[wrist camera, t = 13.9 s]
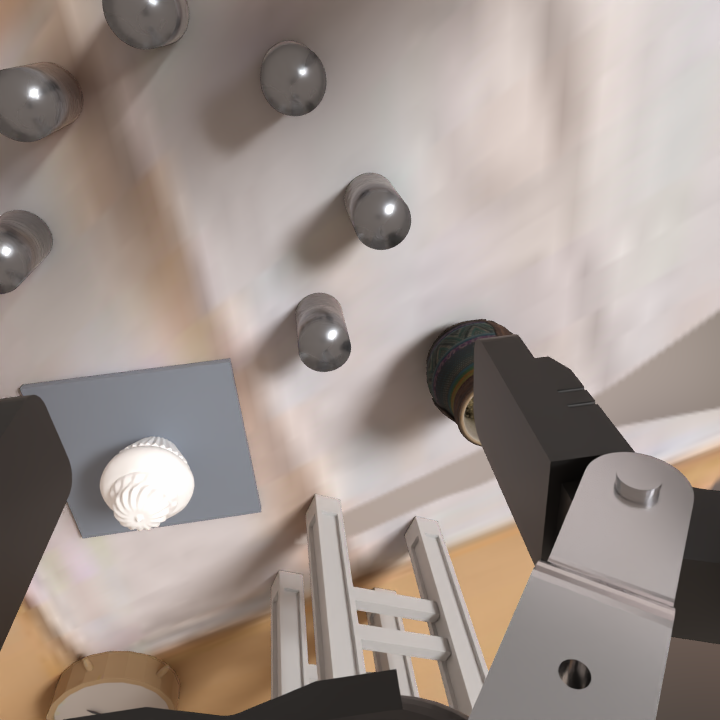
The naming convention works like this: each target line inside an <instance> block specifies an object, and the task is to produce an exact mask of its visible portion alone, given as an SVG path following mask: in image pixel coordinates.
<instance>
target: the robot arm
mask: <svg viewBox="0 0 720 720" xmlns="http://www.w3.org/2000/svg"><path fill="white" fill-rule="evenodd" d="M473 410H474V420H475V426H476V431H477V434H478V438H479V440H480V443H481V445H482V447H483V449H484V452H485V454H486V456H487V459H488V461H489V463H490V465H491V468H492V470H493V472H494V474H495V477H496V479H497V481H498V483H499V486H500V488H501V490H502V493H503V495H504V497H505V499H506V502H507V504H508V506H509V508H510V511H511V513H512V515H513V517H514V520H515V522H516V524H517V527H518V529H519V531H520V533H521V536H522V538H523V540H524V542H525V545H526V547H527V549H528V551H529V554H530V556H531V558H532V561H533V563H534V565H535V567H534V569H533V571H532V573H531V575H530V578H529V580H528V582H527V585H526V587H525V589H524V591H523V594H522V596H521V598H520V601H519V603H518V605H517V608H516V610H515V612H514V615H513V617H512V619H511V621H510V624H509V626H508V628H507V631H506V633H505V635H504V638H503V640H502V642H501V645H500V647H499V649H498V652H497V654H496V656H495V658H494V661H493V663H492V665H491V668H490V670H489V672H488V675H487V677H486V679H485V682H484V684H483V686H482V688H481V691H480V693H479V695H478V698H477V700H476V702H475V705H474V707H473V709H472V712H471V714H470V716H467V715H465V714H463V713H462V712H460V711H458V710H456V709H453V708H451V707H448V706H446V705H443V704H441V703H438V702H435V701H431V700H427V699H423V698H419V697H413V696H405V695H401V694H400V688H399V682H398V676H397V670H396V669H393V670H386V671H379V672H373V673H366V674H360V675H353V676H346V677H340V678H333V679H327V680H320V681H315V682H313V683H310V684H308V685H305V686H303V687H301V688H298V689H296V690H293V691H291V692H289V693H286V694H284V695H281V696H279V697H276V698H274V699H272V700H269V701H267V702H264V703H262V704H260V705H257V706H255V707H252V708H250V709H248V710H245V711H243V712H240V713H238V714H235V715H230V716H219V715H210V714H202V713H194V712H185V711H177V710H169V709H160V708H152V707H142V708H135V709H129V710H122V711H115V712H109V713H102V714H96V715H89V716H82V717H76V718H69V719H63V720H655V718H656V713H657V708H658V703H659V697H660V692H661V687H662V681H663V676H664V671H665V666H666V660H667V655H668V650H669V644H670V639H671V637H676V638H682V639H689V640H696V641H702V642H708V643H716V644H720V491H714V490H706V489H699V488H694V487H692V486H691V484H690V482H689V481H688V480H687V478H686V477H685V476H684V475H683V474H682V473H681V472H680V471H679V470H677V469H676V468H674V467H673V466H672V465H670V464H668V463H666V462H664V461H662V460H660V459H657V458H655V457H652V456H648V455H645V454H640V453H635V452H634V450H633V449H632V448H631V447H630V445H629V444H628V443H627V441H626V440H625V439H624V438H623V436H622V435H621V434H620V432H619V431H618V430H617V428H616V427H615V426H614V425H613V423H612V422H611V421H610V419H609V418H608V417H607V416H606V414H605V413H604V412H603V410H602V409H601V408H600V407H599V405H598V404H597V405H596V404H595V400H594V399H593V398H592V396H591V395H590V394H589V392H588V391H587V390H584V386H583V385H582V383H581V382H580V381H579V380H578V378H577V377H576V376H575V374H574V373H573V372H572V370H571V369H569V368H567V367H565V366H564V365H562V364H560V363H559V362H557V361H555V360H554V359H552V358H550V357H541V358H534V357H533V355H532V354H531V352H530V351H529V350H528V348H527V347H526V345H525V344H524V342H523V341H522V340H521V338H520V337H519V336H518V335H516V334H514V335H506V336H498V337H490V338H483V339H477V340H476V342H475V347H474V398H473ZM71 487H72V469H71V464H70V461H69V458H68V456H67V454H66V451H65V449H64V447H63V444H62V442H61V440H60V437H59V435H58V433H57V431H56V428H55V426H54V424H53V421H52V419H51V417H50V414H49V412H48V410H47V407H46V405H45V403H44V402H43V400H42V399H41V398H40V397H39V396H37V395H26V396H18V397H10V398H2V399H0V651H1V648H2V646H3V644H4V642H5V639H6V637H7V635H8V632H9V630H10V628H11V626H12V623H13V621H14V619H15V617H16V614H17V612H18V610H19V608H20V605H21V603H22V601H23V599H24V596H25V594H26V592H27V590H28V587H29V585H30V583H31V580H32V578H33V576H34V574H35V571H36V569H37V567H38V565H39V562H40V560H41V558H42V556H43V553H44V551H45V549H46V547H47V544H48V542H49V540H50V538H51V535H52V533H53V531H54V528H55V526H56V524H57V522H58V519H59V517H60V515H61V513H62V510H63V508H64V506H65V504H66V501H67V499H68V497H69V494H70V491H71Z"/></svg>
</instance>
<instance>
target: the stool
mask: <svg viewBox="0 0 720 720" xmlns="http://www.w3.org/2000/svg"><path fill="white" fill-rule="evenodd" d="M306 527H307V541H308V554H309V568H310V581H311V595H312V609H313V622H314V636H315V649H316V663H317V665H312V664H308V651H307V635H306V618H305V602H304V585H303V575H302V574H297V573H291V572H286V571H280V570H279V572H278V574H277V576H276V578H275V580H274V583H273V585H272V587H271V700H272V699H274V698H276V697H279V696H281V695H284V694H286V693H289V692H291V691H293V690H296V689H298V688H301V687H303V686H305V685H308V684H310V683H313V682H315V681H320V680H327V679H333V678H340V677H346V676H353V675H360V674H366V673H371V672H366V671H365V664H364V657H363V650H362V649H364V650H371V651H373V656H374V663H375V669H376V672H379V671H386V670H393V669H396V670H397V676H398V682H399V688H400V694H401V695H405V696H413V697H419V693H418V689H417V684H416V680H415V675H414V671H413V666H412V662H411V657H410V656H412V657H418V658H425V659H432V660H437V661H438V665H439V669H440V673H441V676H442V680H443V684H444V688H445V692H446V695H447V699H448V703H449V707H451V708H453V709H456V710H458V711H460V712H462V713H463V714H465V715H467V716H470V714H471V712H472V709H473V707H474V705H475V702H476V700H477V698H478V695H479V693H480V691H481V688H482V686H483V684H484V682H485V679H486V677H487V675H488V669H487V666H486V663H485V660H484V657H483V654H482V651H481V648H480V645H479V642H478V639H477V636H476V633H475V630H474V627H473V624H472V621H471V618H470V615H469V612H468V609H467V606H466V604H465V601H464V598H463V595H462V592H461V589H460V586H459V583H458V580H457V577H456V574H455V571H454V568H453V565H452V562H451V559H450V556H449V553H448V550H447V547H446V544H445V541H444V538H443V535H442V532H441V529H440V526H439V523H438V521H434V520H430V519H425V518H421V517H416V516H415V518H414V520H413V522H412V523H411V525H410V527H409V528H408V530H407V532H406V534H405V539H406V543H407V547H408V551H409V555H410V558H411V562H412V566H413V570H414V574H415V577H416V581H417V585H418V589H419V593H420V596H421V599H420V598H414V597H409V596H403V595H397V594H396V591H391V590H386V589H380V588H374V589H373V590H370V589H364V588H358V587H353V583H352V576H351V569H350V563H349V556H348V549H347V542H346V536H345V529H344V522H343V515H342V509H341V502H340V499H335V498H331V497H326V496H322V495H318V494H315V496H314V498H313V500H312V502H311V504H310V506H309V508H308V510H307V513H306ZM357 610H359V611H365V612H366V614H367V620H368V625H363V624H359V623H358V617H357ZM402 618H407V619H413V620H419V621H425V622H427V623H428V627H429V631H430V634H431V635H425V634H419V633H413V632H407V631H405V630H404V626H403V621H402Z"/></svg>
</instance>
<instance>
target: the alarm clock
mask: <svg viewBox="0 0 720 720" xmlns="http://www.w3.org/2000/svg"><path fill="white" fill-rule="evenodd" d="M179 693H180V681H179V679H178V676H177V674H176V672H175V671H174V670H173V669H172V668H171V667H170V666H169V665H167V664H166V663H165V662H163V661H161V660H159V659H156V658H154V657H152V656H150V655H146V654H141V653H136V652H131V651H109V652H104V653H99V654H94V655H90V656H87V657H85V658H83V659H81V660H78V661H76V662H74V663H73V664H72V665H70V666H69V667H68V668H67V669H66V670H65V671H64V672H63V673H62V675H61V677H60V679H59V681H58V683H57V686H56V689H55V694H54V697H53V700H52V703H51V706H50V709H49V711H48V713H47V716H46V720H63V719H69V718H76V717H82V716H89V715H96V714H102V713H109V712H115V711H122V710H129V709H135V708H142V707H152V708H160V709H169V710H177V706H178V699H179Z"/></svg>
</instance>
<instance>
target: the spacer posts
mask: <svg viewBox="0 0 720 720" xmlns="http://www.w3.org/2000/svg"><path fill="white" fill-rule="evenodd" d="M102 4H103V11H104V15H105V18H106V20H107V23H108V25H109V26H110V28H111V29H112V31H113V32H114V33H115V34H116V36H117V37H119V38H120V39H121V40H122V41H123V42H125V43H126V44H128V45H130V46H132V47H135V48H139V49H153V48H157V47H161V46H165V45H169V44H172V43H174V42H176V41H177V40H179V39H180V38H181V37H182V36H183V34H184V33H185V31H186V29H187V26H188V22H189V8H188V4H187V1H186V0H102ZM260 81H261V88H262V91H263V94H264V96H265V98H266V99H267V101H268V102H269V104H270V105H271V106H272V107H273V108H274V109H276V110H277V111H279V112H281V113H283V114H285V115H289V116H300V115H304V114H307V113H309V112H311V111H312V110H313V109H315V108H316V107H317V106H318V104H319V103H320V102H321V100H322V98H323V96H324V93H325V89H326V74H325V70H324V67H323V65H322V63H321V61H320V59H319V58H318V57H317V56H316V55H315V53H313V52H312V51H311V50H310V49H308V48H307V47H306V46H304V45H303V44H301V43H298V42H295V41H283V42H280V43H277V44H275V45H274V46H273V47H272V48H270V49H269V51H268V52H267V53H266V55H265V57H264V59H263V63H262V68H261V77H260ZM82 106H83V96H82V91H81V89H80V86H79V84H78V83H77V81H76V79H75V78H74V77H73V76H72V75H71V74H70V73H69V72H68V71H67V70H65V69H64V68H62V67H61V66H59V65H56V64H53V63H48V62H40V63H35V64H29V65H24V66H19V67H14V68H8V69H3V70H0V132H1V133H2V134H3V135H5V136H7V137H9V138H11V139H13V140H16V141H21V142H33V141H37V140H40V139H42V138H44V137H45V136H47V135H49V134H51V133H53V132H55V131H57V130H59V129H61V128H63V127H64V126H66V125H68V124H70V123H72V122H73V121H75V120H76V119H77V118H78V116H79V115H80V113H81V110H82ZM344 202H345V207H346V210H347V212H348V215H349V217H350V220H351V222H352V224H353V227H354V229H355V232H356V234H357V236H358V238H359V239H360V241H361V242H362V243H363V244H365V245H366V246H368V247H370V248H373V249H377V250H385V249H389V248H392V247H395V246H396V245H398V244H399V243H400V242H402V241H403V240H404V238H405V237H406V235H407V234H408V232H409V229H410V225H411V214H410V211H409V208H408V206H407V205H406V203H405V202H404V201H403V199H402V198H401V197H400V195H399V194H398V193H397V191H396V190H395V189H394V187H393V186H392V185H391V183H390V182H389V181H388V180H387V179H386V178H385V177H383V176H382V175H379V174H376V173H365V174H362V175H359V176H358V177H356V178H355V179H353V180H352V181H351V183H350V184H349V185H348V187H347V189H346V192H345V197H344ZM52 244H53V239H52V234H51V232H50V229H49V228H48V226H47V225H46V223H45V222H44V221H43V220H42V219H40V218H39V217H38V216H36V215H34V214H32V213H30V212H27V211H22V210H13V211H9V212H6V213H4V214H3V215H1V216H0V294H4V293H8V292H11V291H13V290H14V289H16V288H17V287H18V286H19V285H20V284H21V283H22V282H23V281H24V280H25V279H26V277H27V276H28V275H29V274H30V273H31V272H32V271H33V270H34V269H35V268H36V267H37V266H38V265H39V264H40V263H41V261H42V260H43V259H44V258H45V257H46V256H47V255H48V254H49V253H50V251H51V248H52ZM296 326H297V337H298V348H299V355H300V358H301V360H302V361H303V363H304V364H305V365H306V366H307V367H309V368H311V369H313V370H315V371H320V372H328V371H332V370H335V369H337V368H339V367H341V366H342V365H343V364H344V363H345V362H346V361H347V359H348V358H349V355H350V352H351V344H350V340H349V336H348V332H347V328H346V324H345V320H344V316H343V312H342V308H341V306H340V304H339V302H338V301H337V300H336V299H335V298H334V297H332V296H330V295H328V294H325V293H315V294H311V295H309V296H307V297H305V298H304V299H303V300H302V301H301V302H300V303H299V304H298V306H297V309H296Z"/></svg>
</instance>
